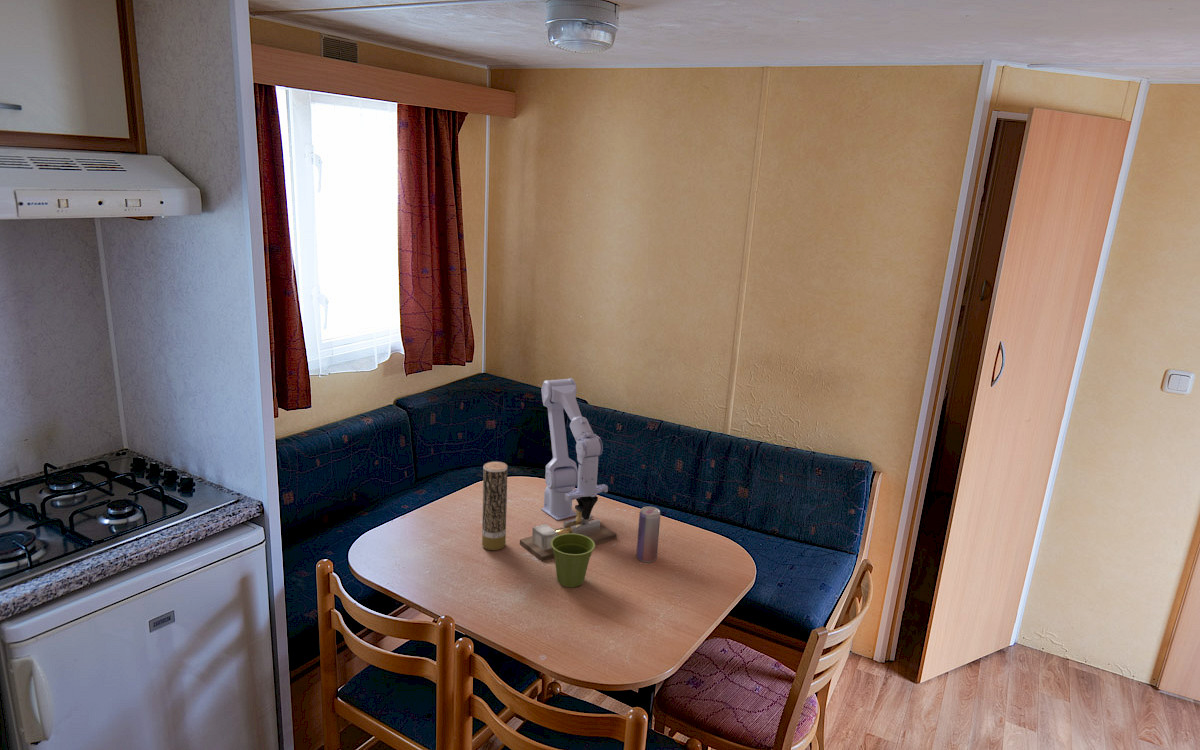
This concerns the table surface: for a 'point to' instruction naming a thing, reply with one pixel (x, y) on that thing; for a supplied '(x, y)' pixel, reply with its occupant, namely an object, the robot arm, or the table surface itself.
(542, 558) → the base board
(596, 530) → the sleeve
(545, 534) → the socket block
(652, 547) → the beverage can
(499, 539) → the brown tall cylinder
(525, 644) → the table surface
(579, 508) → the sliding latch bolt
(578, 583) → the plant pot
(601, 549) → the table surface
